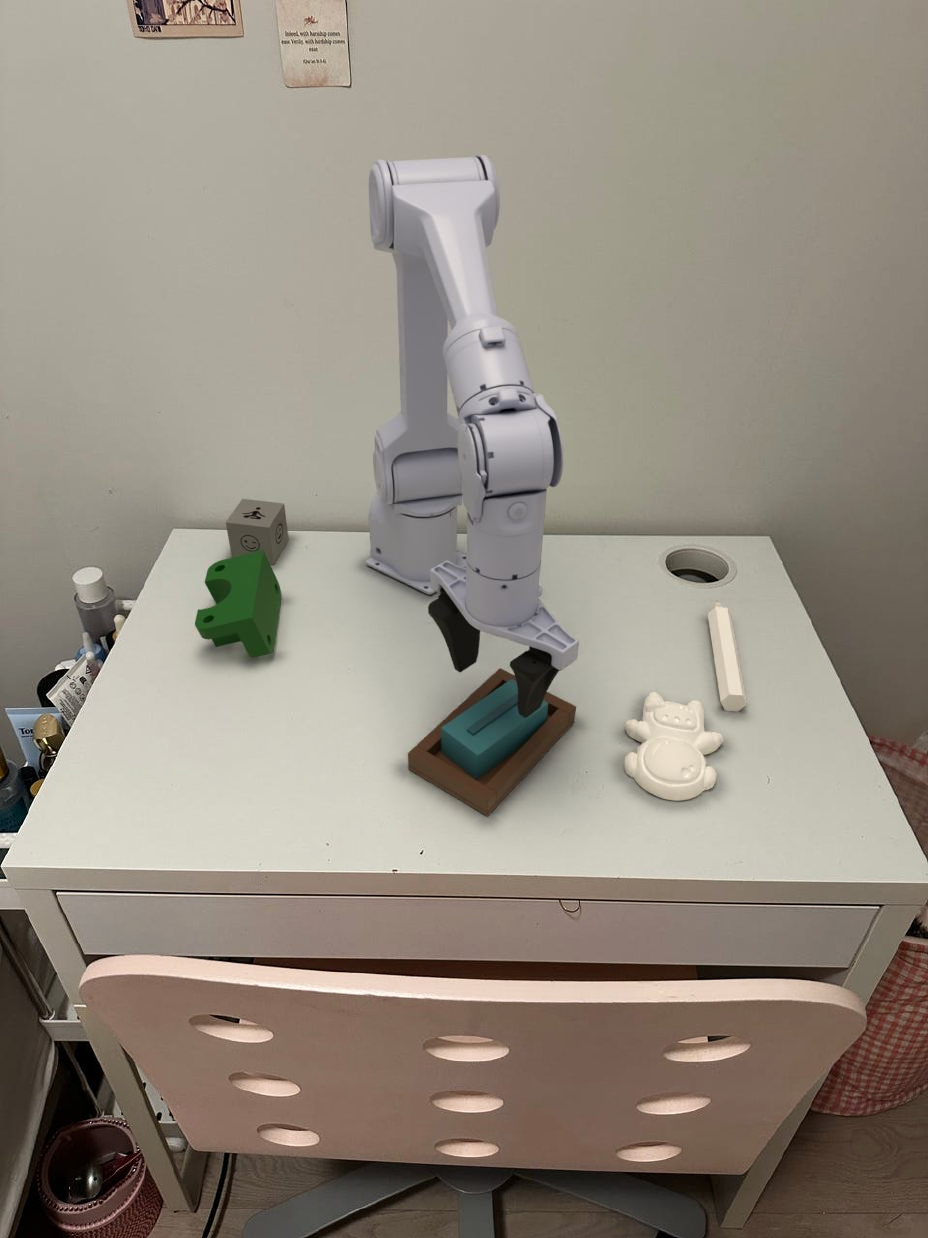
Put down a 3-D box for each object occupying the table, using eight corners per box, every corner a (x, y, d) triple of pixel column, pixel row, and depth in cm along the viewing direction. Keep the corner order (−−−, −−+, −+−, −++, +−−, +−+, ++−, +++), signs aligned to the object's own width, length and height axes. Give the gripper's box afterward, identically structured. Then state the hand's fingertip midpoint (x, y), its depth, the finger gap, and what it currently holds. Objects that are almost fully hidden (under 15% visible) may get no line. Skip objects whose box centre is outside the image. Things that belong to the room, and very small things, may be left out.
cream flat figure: (726, 716, 87) (733, 693, 85) (710, 812, 78) (716, 788, 77) (634, 694, 89) (638, 671, 87) (608, 785, 81) (612, 761, 79)
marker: (715, 611, 101) (733, 715, 88) (700, 603, 100) (716, 705, 88) (731, 596, 99) (753, 699, 87) (716, 586, 99) (735, 689, 86)
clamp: (239, 638, 102) (213, 559, 99) (292, 625, 101) (267, 546, 99) (208, 676, 90) (177, 588, 88) (266, 662, 90) (237, 573, 87)
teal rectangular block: (476, 780, 80) (477, 753, 78) (440, 752, 82) (440, 725, 80) (546, 728, 85) (549, 700, 83) (510, 703, 87) (511, 675, 85)
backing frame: (487, 817, 78) (488, 800, 76) (408, 769, 82) (407, 753, 80) (574, 722, 86) (576, 706, 85) (499, 683, 90) (499, 667, 89)
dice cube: (232, 559, 106) (225, 522, 102) (248, 534, 109) (242, 498, 106) (274, 564, 105) (268, 527, 102) (288, 539, 109) (284, 503, 106)
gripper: (611, 577, 69) (592, 707, 78) (473, 501, 77) (470, 627, 86) (548, 619, 65) (536, 751, 74) (410, 534, 73) (413, 663, 82)
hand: (496, 687), depth 80 cm, fingers open, 7 cm apart
